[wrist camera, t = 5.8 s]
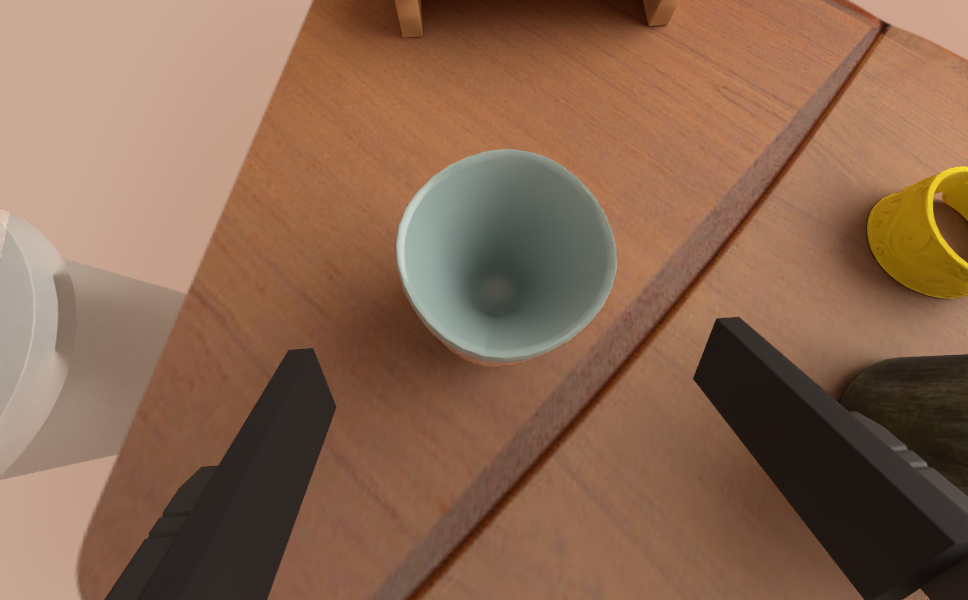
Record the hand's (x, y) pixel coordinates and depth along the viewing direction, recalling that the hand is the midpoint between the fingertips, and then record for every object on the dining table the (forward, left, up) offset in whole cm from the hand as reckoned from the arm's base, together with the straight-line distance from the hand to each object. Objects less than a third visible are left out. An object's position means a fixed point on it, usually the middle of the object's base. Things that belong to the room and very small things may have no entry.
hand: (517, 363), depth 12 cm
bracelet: (+29, +6, -10) cm, 31 cm away
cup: (0, +4, -10) cm, 10 cm away
